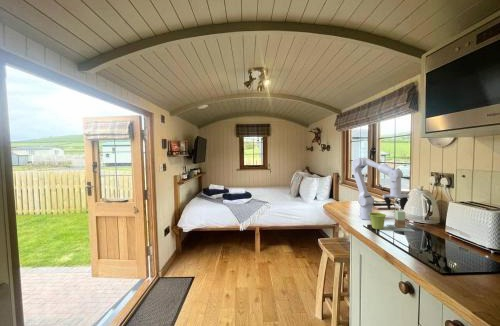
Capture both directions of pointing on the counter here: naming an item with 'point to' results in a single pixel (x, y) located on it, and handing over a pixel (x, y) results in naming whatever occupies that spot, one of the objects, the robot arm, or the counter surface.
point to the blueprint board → (401, 228)
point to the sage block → (399, 215)
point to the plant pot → (377, 220)
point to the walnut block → (399, 223)
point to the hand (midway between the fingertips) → (395, 209)
